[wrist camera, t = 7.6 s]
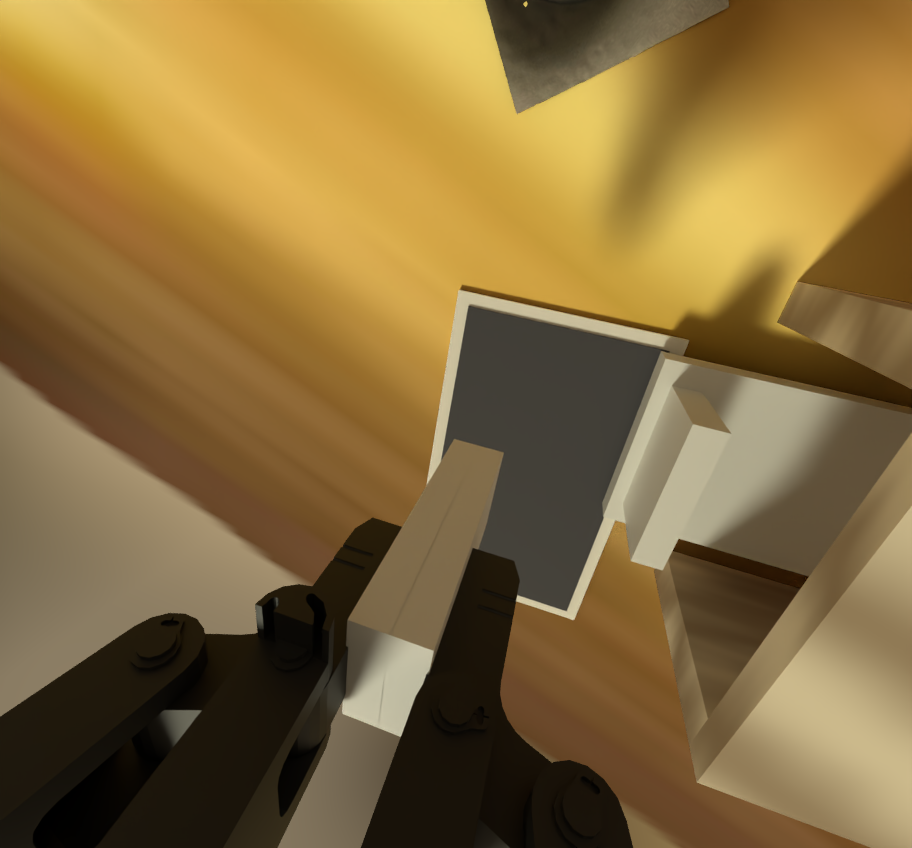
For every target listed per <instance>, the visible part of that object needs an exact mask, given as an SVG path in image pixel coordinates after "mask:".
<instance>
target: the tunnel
mask: <svg viewBox="0 0 912 848" xmlns="http://www.w3.org/2000/svg"><path fill="white" fill-rule="evenodd" d="M778 323H780V324H782V325H784V326H786V327H788V328H790V329H792V330H794V331H796V332H798V333H800V334H802V335H804V336H806V337H808V338H810V339H812V340H814V341H816V342H818V343H820V344H822V345H824V346H826V347H828V348H830V349H832V350H834V351H836V352H838V353H840V354H842V355H844V356H846V357H848V358H850V359H852V360H854V361H856V362H858V363H860V364H862V365H864V366H866V367H868V368H870V369H872V370H874V371H876V372H878V373H880V374H882V375H884V376H886V377H888V378H890V379H892V380H894V381H896V382H898V383H900V384H902V385H904V386H906V387H908V388H910V389H912V303H907V302H902V301H897V300H891V299H886V298H881V297H876V296H870V295H865V294H860V293H855V292H850V291H844V290H839V289H834V288H829V287H824V286H818V285H813V284H808V283H803V282H797V284H796V286H795V288H794V290H793V292H792V294H791V296H790V298H789V300H788V302H787V304H786V306H785V308H784V310H783V312H782V314H781V316H780V318H779V320H778ZM654 573H655V578H656V583H657V588H658V593H659V598H660V603H661V608H662V613H663V618H664V623H665V627H666V632H667V637H668V642H669V647H670V652H671V657H672V662H673V667H674V672H675V677H676V682H677V687H678V692H679V697H680V702H681V707H682V711H683V716H684V721H685V726H686V731H687V736H688V741H689V746H690V751H691V756H692V761H693V766H694V771H695V776H696V781H697V783H700V784H703V785H705V786H708V787H711V788H713V789H716V790H719V791H721V792H724V793H727V794H729V795H732V796H735V797H737V798H740V799H743V800H745V801H748V802H751V803H753V804H756V805H759V806H761V807H764V808H767V809H769V810H772V811H775V812H777V813H780V814H783V815H785V816H788V817H791V818H793V819H796V820H799V821H801V822H804V823H807V824H809V825H812V826H815V827H817V828H820V829H823V830H825V831H828V832H831V833H833V834H836V835H839V836H841V837H844V838H847V839H849V840H852V841H855V842H857V843H860V844H863V845H866V846H868V847H871V848H912V433H911V434H910V436H909V437H908V439H907V440H906V441H905V443H904V444H903V446H902V447H901V448H900V450H899V451H898V453H897V454H896V455H895V457H894V458H893V460H892V461H891V462H890V464H889V465H888V467H887V468H886V469H885V471H884V472H883V474H882V475H881V476H880V478H879V479H878V481H877V482H876V483H875V485H874V486H873V488H872V489H871V491H870V492H869V493H868V495H867V496H866V498H865V499H864V500H863V502H862V503H861V505H860V506H859V507H858V509H857V510H856V512H855V513H854V514H853V516H852V517H851V519H850V520H849V521H848V523H847V524H846V526H845V527H844V528H843V530H842V531H841V533H840V534H839V535H838V537H837V538H836V540H835V541H834V542H833V544H832V545H831V547H830V548H829V550H828V551H827V552H826V554H825V555H824V557H823V558H822V559H821V561H820V562H819V564H818V565H817V566H816V568H815V569H814V571H813V572H812V573H811V575H810V576H809V578H808V579H807V580H806V582H805V583H804V585H803V586H802V587H801V589H799V588H796V587H793V586H789V585H786V584H783V583H779V582H776V581H772V580H769V579H766V578H762V577H759V576H755V575H752V574H749V573H745V572H742V571H739V570H735V569H732V568H728V567H725V566H722V565H718V564H715V563H711V562H708V561H705V560H701V559H698V558H695V557H691V556H688V555H684V554H681V553H678V552H674V551H672V553H671V555H670V557H669V559H668V561H667V563H666V565H665V567H664V569H663V570H659V569H655V571H654Z"/></svg>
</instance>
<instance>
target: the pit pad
mask: <svg viewBox="0 0 912 848" xmlns="http://www.w3.org/2000/svg"><path fill="white" fill-rule="evenodd" d="M688 343H689V340H688V339H683V338H679V337H674V336H669V335H665V334H660V333H656V332H651V331H647V330H642V329H638V328H633V327H628V326H624V325H619V324H615V323H610V322H606V321H601V320H597V319H592V318H587V317H583V316H578V315H574V314H569V313H565V312H560V311H556V310H551V309H546V308H542V307H537V306H533V305H528V304H524V303H519V302H515V301H510V300H506V299H501V298H496V297H492V296H487V295H483V294H478V293H474V292H469V291H465V290H459V291H458V297H457V303H456V309H455V315H454V322H453V328H452V334H451V340H450V346H449V352H448V358H447V364H446V370H445V376H444V382H443V388H442V394H441V401H440V407H439V413H438V419H437V425H436V431H435V437H434V443H433V449H432V455H431V461H430V467H429V473H428V479H427V484H428V483H429V481H430V479H431V477H432V476H433V474H434V472H435V471H436V469H437V467H438V466H439V464H440V462H441V460H442V459H443V457H444V455H445V454H446V452H447V450H448V449H449V447H450V445H451V444H452V442H453V440H454V439H456V440H460V441H464V442H467V443H471V444H474V445H478V446H482V447H485V448H489V449H493V450H496V451H500V452H504V454H503V458H502V462H501V466H500V470H499V475H498V479H497V483H496V487H495V491H494V495H493V499H492V503H491V508H490V512H489V516H488V520H487V524H486V527H485V530H484V533H483V537H482V540H481V543H480V546H479V549H478V550H481V551H484V552H488V553H491V554H494V555H497V556H500V557H503V558H507V559H510V560H513V561H514V562H515V565H516V568H517V572H518V575H519V579H520V583H519V588H518V593H517V599H516V601H518V602H521V603H524V604H527V605H530V606H533V607H536V608H539V609H542V610H545V611H548V612H551V613H554V614H557V615H560V616H563V617H566V618H569V619H572V620H574V619H575V617H576V614H577V612H578V609H579V607H580V604H581V602H582V600H583V597H584V595H585V592H586V590H587V588H588V585H589V583H590V580H591V578H592V575H593V573H594V571H595V568H596V566H597V563H598V561H599V558H600V556H601V554H602V551H603V549H604V546H605V544H606V542H607V539H608V537H609V534H610V532H611V529H612V527H613V525H614V522H615V520H613V519H609V518H606V517H603V506H602V502H603V500H604V497H605V495H606V492H607V489H608V487H609V484H610V482H611V479H612V477H613V474H614V471H615V469H616V466H617V464H618V461H619V458H620V456H621V453H622V451H623V448H624V446H625V443H626V440H627V438H628V435H629V433H630V430H631V428H632V425H633V422H634V420H635V417H636V415H637V412H638V409H639V407H640V404H641V402H642V399H643V397H644V394H645V391H646V389H647V386H648V384H649V381H650V379H651V376H652V373H653V371H654V368H655V366H656V363H657V360H658V358H659V355H660V353H661V351H663V352H667V353H671V354H676V355H680V356H683V355H684V353H685V350H686V348H687V345H688Z"/></svg>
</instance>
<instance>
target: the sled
mask: <svg viewBox="0 0 912 848" xmlns="http://www.w3.org/2000/svg"><path fill="white" fill-rule="evenodd" d="M911 433H912V408H911V407H906V406H902V405H897V404H893V403H888V402H884V401H880V400H875V399H871V398H866V397H862V396H857V395H853V394H849V393H844V392H840V391H835V390H831V389H826V388H822V387H818V386H813V385H809V384H804V383H800V382H795V381H791V380H787V379H782V378H778V377H773V376H769V375H764V374H760V373H756V372H751V371H747V370H742V369H738V368H733V367H729V366H725V365H720V364H716V363H711V362H707V361H702V360H698V359H694V358H689V357H685V356H680V355H676V354H671V353H667V352H663V351H661V353H660V355H659V358H658V360H657V363H656V366H655V368H654V371H653V373H652V376H651V379H650V381H649V384H648V386H647V389H646V391H645V394H644V397H643V399H642V402H641V404H640V407H639V409H638V412H637V415H636V417H635V420H634V422H633V425H632V428H631V430H630V433H629V435H628V438H627V440H626V443H625V446H624V448H623V451H622V453H621V456H620V458H619V461H618V464H617V466H616V469H615V471H614V474H613V477H612V479H611V482H610V484H609V487H608V489H607V492H606V495H605V497H604V500H603V502H602V506H603V517H606V518H609V519H613V520H616V521H620V522H623V523H626V530H627V538H628V545H629V552H630V559H631V561H633V562H636V563H640V564H643V565H646V566H649V567H653V568H656V569H659V570H663V569H664V567H665V565H666V563H667V561H668V559H669V557H670V555H671V553H672V551H673V549H674V547H675V545H676V543H677V541H678V539H682V540H685V541H688V542H692V543H695V544H699V545H702V546H706V547H709V548H713V549H716V550H719V551H723V552H726V553H730V554H733V555H737V556H740V557H744V558H747V559H750V560H754V561H757V562H761V563H764V564H768V565H771V566H775V567H778V568H781V569H785V570H788V571H792V572H795V573H799V574H802V575H805V576H810V575H811V573H812V572H813V571H814V569H815V568H816V566H817V565H818V564H819V562H820V561H821V559H822V558H823V557H824V555H825V554H826V552H827V551H828V550H829V548H830V547H831V545H832V544H833V542H834V541H835V540H836V538H837V537H838V535H839V534H840V533H841V531H842V530H843V528H844V527H845V526H846V524H847V523H848V521H849V520H850V519H851V517H852V516H853V514H854V513H855V512H856V510H857V509H858V507H859V506H860V505H861V503H862V502H863V500H864V499H865V498H866V496H867V495H868V493H869V492H870V491H871V489H872V488H873V486H874V485H875V483H876V482H877V481H878V479H879V478H880V476H881V475H882V474H883V472H884V471H885V469H886V468H887V467H888V465H889V464H890V462H891V461H892V460H893V458H894V457H895V455H896V454H897V453H898V451H899V450H900V448H901V447H902V446H903V444H904V443H905V441H906V440H907V439H908V437H909V436H910V434H911Z"/></svg>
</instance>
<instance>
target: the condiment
mask: <svg viewBox="0 0 912 848" xmlns="http://www.w3.org/2000/svg"><path fill="white" fill-rule="evenodd" d="M485 1H486V5H487V9H488V12H489V15H490V19H491V23H492V26H493V30H494V34H495V38H496V41H497V44H498V48H499V51H500V56H501V59H502V62H503V66H504V70H505V73H506V77H507V80H508V84H509V88H510V92H511V95H512V99H513V102H514V106H515V109H516V113H517V114H518V113H520V112H522V111H524V110H526V109H528V108H530V107H532V106H534V105H536V104H538V103H541V102H543V101H545V100H547V99H549V98H551V97H553V96H555V95H557V94H559V93H561V92H563V91H565V90H567V89H569V88H571V87H573V86H575V85H576V84H579V83H581V82H584V81H586V80H588V79H590V78H592V77H593V76H595V75H597V74H599V73H601V72H603V71H605V70H607V69H609V68H611V67H613V66H615V65H617V64H619V63H621V62H623V61H625V60H627V59H629V58H631V57H634V56H636V55H638V54H639V53H641V52H643V51H645V50H646V49H648V48H650V47H652V46H654V45H655V44H658V43H660V42H662V41H664V40H666V39H668V38H670V37H672V36H674V35H676V34H678V33H680V32H682V31H684V30H686V29H688V28H689V27H691V26H693V25H695V24H697V23H699V22H701V21H703V20H705V19H707V18H709V17H710V16H712V15H714V14H716V13H718V12H720V11H722V10H724V9H726V8H728V7H729V1H728V0H485ZM525 1H527V3H528V5H527V7H525V6H524V5H523V3H524V2H525Z"/></svg>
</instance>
